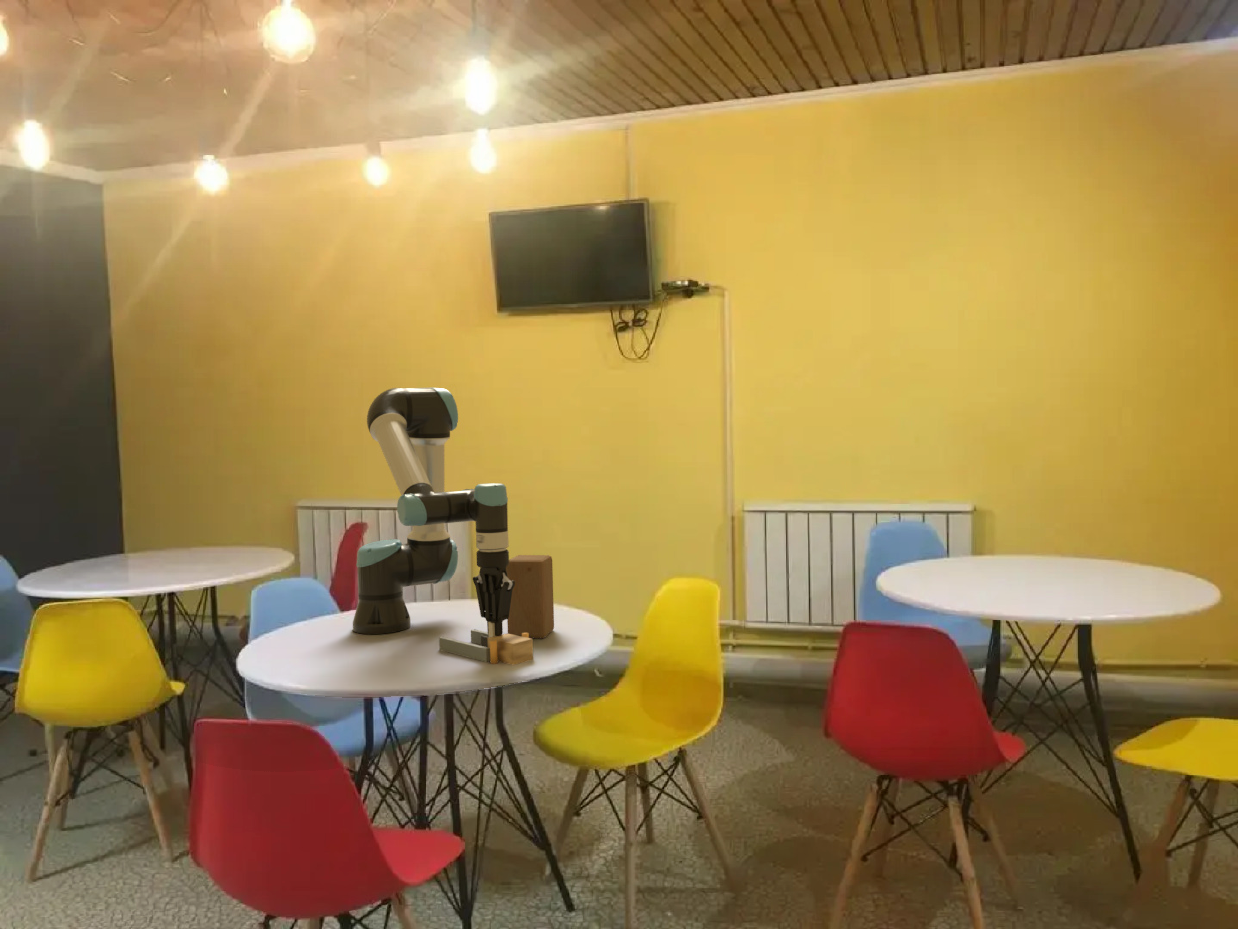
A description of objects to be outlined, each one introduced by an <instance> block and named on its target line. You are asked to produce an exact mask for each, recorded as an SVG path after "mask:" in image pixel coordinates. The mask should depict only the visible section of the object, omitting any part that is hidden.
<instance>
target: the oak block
mask: <svg viewBox="0 0 1238 929" xmlns="http://www.w3.org/2000/svg"><path fill="white" fill-rule="evenodd" d="M487 639H488V648H490V641H494V640H495V641H497V658H498V663H499V662H501V663H503V664H508V665H512V666H515V665H518V664H522V663H526V662H529V661H532V660H534V649H533V648H534V647H533V646H534V644H533V639H534V638H526V637H522V636H517V635H513V634H508V632H507V633H504V634H503V633H502V635H500V636H494V637H490V638H487Z"/></svg>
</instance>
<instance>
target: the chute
mask: <svg viewBox="0 0 1238 929" xmlns="http://www.w3.org/2000/svg"><path fill="white" fill-rule="evenodd" d="M522 637H526V638H529V633H522ZM487 638H489V634H488V631H484V630H478V629H476V628H475V629H471V630H470V642H466V641H462V640H458V639H454V638H450V637H445V636H441V637H439V638H438V642H439V650H440V651H442V652H447V653H450V654H453V655H454V654H455V655H459V656H463V657H464V658H465V657H466V658H470V659H474V660H477V661H481V662H485V663H489V662H490V664H491V665H495V664H498V663H499V661H498V658H497V641H495V640H494V641H490V648H488V639H487Z"/></svg>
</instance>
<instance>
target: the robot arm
mask: <svg viewBox="0 0 1238 929" xmlns="http://www.w3.org/2000/svg"><path fill="white" fill-rule="evenodd" d="M366 416H367V417H366V424H367V429H368V431H369V432H368V433H369V434H370V436H371V437H372V439H373V440H374V441H375V442H378V445H379V447H380V450H381V452H382V454H383V456H384V459H385V461H386V463H387V466H388V468H389V470H390V472H391V475H392V477H393V480H394V481H395V484H396V487H397V489H398V490H399V493H400V496H399V497H398V501H397V504H396V510H397V514H398V520H399V522H400V523H401V524H402V525H403V526H407V527H412V530H411V531H410V532H409V533H408V534H407V535H406V538H407V539H406V543H403V544H402V541H401V540H400V539H395V538H393V539H392V538H391V539H383V540H382V539H381V540H377V541H373V542H370V543H367V544H364V545H362V546H361V547H359V548H358V550H357V554H356V567H357V594H358V602H357V606H356V609H355V613H354V616H353V620H352V631H353V632H354V633H356V634H357V633H358V634H362V635H363V634H365V635H381V634H391V633H396V632H397V633H398V632H402V631H404V630H407V629H410V627H411V625H412V624H411V615H410V613H409V611H408V608H407V606H406V603H405V600H404V593H403V590H404V587H412V586H413V587H414V586H421V585H429V584H433V585H436V584H438V583H439V584H440V583H444V582H447V581H450V580H451V579H452V578H453V576H454V575H455V573H456V570H457V568H458V561H459V551H458V550H457V549H458V546H457V543H456V542H455V540H453V539H451V534H450V533H449V532H448V531H447V530H446V529H445V524H451V523H452V524H453V523H463V522H465V523H466V522H475V535H476V536H475V537H476V538H475V540H476V542H475V543H476V544H475V546H476V549H477V552H476V553H475V554H476V566H477V567H478V568H480V569H479V571H478V572H479V573H478V575H477V576H473V577H472V582H473V584H474V586H475V591H476V598H477V602H478V608H479V614H480V617H481V618H484V619H485V621H486V624H487V626H486V627H487V632H488V634H489V638H490V637H494V636H500V635H503V622H504V621H506V620H507V619H508V618H509V611H510V604H511V596H512V590H513V587H514V585H515V581H514V580H512V581H510V580H509V579H508V577H507V571H506V566H507V565H508V564H509V560H510V555H509V553H510V552H509V550H508V548H509V546H510V545H509V541H510V540H509V530H508V528H509V527H508V526H509V525H508V524H509V523H508V521H509V520H508V518H509V516H508V502H509V501H508V500H509V498H508V495H507V494H508V492H507V487H506V485H505V484H504V483H500V482H499V483H497V482H495V483H493V482H492V483H491V482H490V483H479V484H478V483H477V485H476V486H475V487H474V488H466V489H462V490H453V491H445V444H446V443H447V441H449V439H450V438H451V432H453V431H454V430H455V429H456V428H458V422H459V413H458V406H457V402H456V400H455V398H454V396H453V394H452V393H451V392H450V391H449V390H448V389H446V388H442V387H441V388H439V387H434V386H433V387H405V388H404V387H403V388H401V387H392V388H389V389H386V390H384V391H382V392H381V393H379V394H378V395H377V396H376V397H375V398H374V399H373V401H372V402H371V404H370V406H369V409H368V411H367V415H366Z"/></svg>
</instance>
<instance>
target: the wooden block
mask: <svg viewBox="0 0 1238 929" xmlns="http://www.w3.org/2000/svg"><path fill="white" fill-rule="evenodd" d="M553 570H554V569H553V557H552V556H551V555H549V554H547V555H545V554H536V555H535V554H519V555H518V554H517V555H516V556H514V557H512V558H509V564H508V565H507V566H506V571H507V577H508V579H509V580H510V581H512V580H514V581H515V585H514V587H513V590H512V596H511V604H510V611H509V618H508V619H506V620H507V622H506V624H507V633H508V634H513V635H517V636H522V633H529V638H531V639H540V640H541V639H544V638H547V636H548V635H549V634H550V633H552V632H553V631H554V629H555V612H554V611H555V609H554V578H553V577H554V575H553V574H554V573H553Z"/></svg>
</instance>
